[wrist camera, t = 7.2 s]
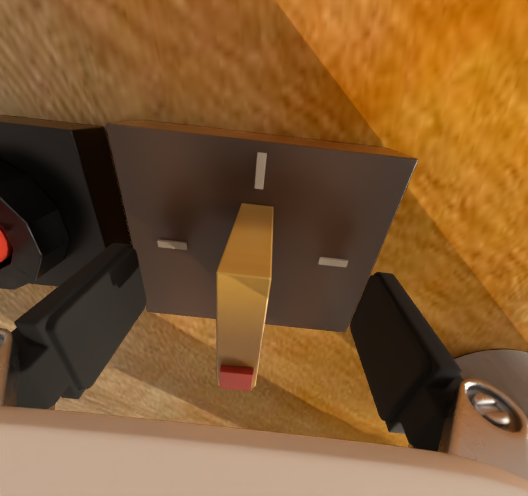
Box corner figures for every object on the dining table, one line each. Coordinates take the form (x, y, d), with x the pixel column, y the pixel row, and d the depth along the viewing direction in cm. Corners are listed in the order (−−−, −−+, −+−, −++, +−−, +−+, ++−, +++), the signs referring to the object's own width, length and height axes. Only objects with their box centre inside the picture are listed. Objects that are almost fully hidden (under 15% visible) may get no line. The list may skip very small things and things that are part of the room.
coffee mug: (551, 394, 21) (737, 586, 13) (437, 420, 25) (523, 587, 16) (529, 304, 16) (817, 528, 8) (387, 353, 19) (475, 547, 11)
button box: (104, 126, 12) (31, 134, 8) (137, 271, 16) (99, 315, 13) (-101, 102, 11) (-262, 100, 8) (-9, 256, 16) (-86, 296, 13)
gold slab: (241, 202, 10) (213, 278, 6) (273, 206, 10) (271, 284, 6) (236, 290, 13) (214, 391, 8) (262, 293, 13) (254, 395, 8)
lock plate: (387, 147, 11) (422, 160, 9) (335, 298, 17) (346, 335, 14) (143, 119, 11) (101, 123, 9) (166, 280, 16) (145, 314, 14)
